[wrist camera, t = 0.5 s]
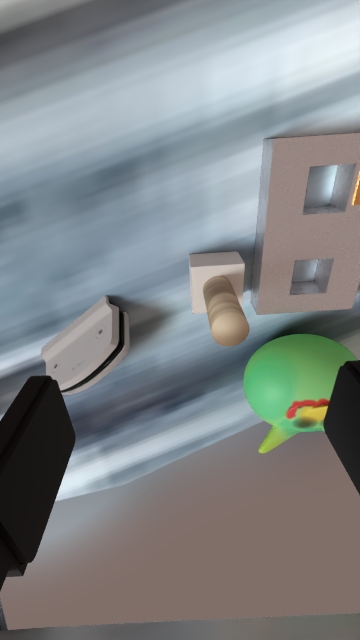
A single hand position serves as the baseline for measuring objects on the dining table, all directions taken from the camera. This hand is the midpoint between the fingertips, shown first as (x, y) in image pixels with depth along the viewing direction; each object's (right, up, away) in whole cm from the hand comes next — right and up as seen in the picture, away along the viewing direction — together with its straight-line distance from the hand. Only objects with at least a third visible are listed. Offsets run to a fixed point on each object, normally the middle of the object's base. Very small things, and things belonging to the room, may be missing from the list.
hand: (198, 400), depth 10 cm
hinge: (-16, 0, +39) cm, 42 cm away
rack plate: (+17, +15, +30) cm, 38 cm away
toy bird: (+19, -4, +42) cm, 46 cm away
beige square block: (+4, +9, +33) cm, 35 cm away
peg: (+4, +7, +29) cm, 30 cm away
